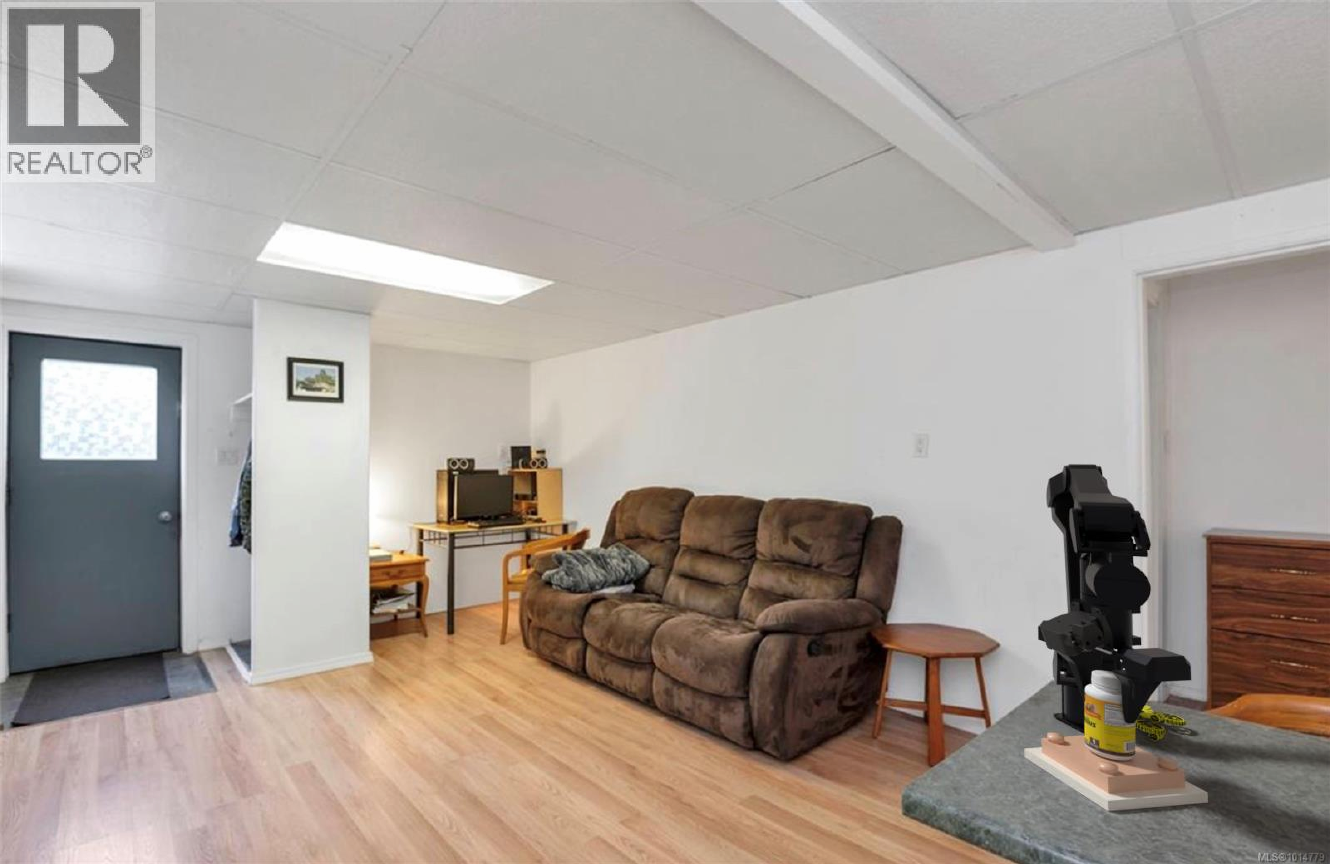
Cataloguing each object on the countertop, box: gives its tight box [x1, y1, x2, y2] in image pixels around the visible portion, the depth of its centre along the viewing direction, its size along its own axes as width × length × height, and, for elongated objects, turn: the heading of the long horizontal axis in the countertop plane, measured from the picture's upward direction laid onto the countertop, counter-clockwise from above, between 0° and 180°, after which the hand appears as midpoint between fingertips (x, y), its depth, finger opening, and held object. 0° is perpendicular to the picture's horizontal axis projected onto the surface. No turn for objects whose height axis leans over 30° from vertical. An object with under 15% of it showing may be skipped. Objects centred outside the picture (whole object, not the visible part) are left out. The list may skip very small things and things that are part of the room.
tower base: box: [1024, 731, 1209, 812], centre depth 84 cm, size 14×14×4 cm
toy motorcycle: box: [1135, 705, 1187, 742], centre depth 99 cm, size 12×4×7 cm
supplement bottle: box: [1084, 670, 1137, 761], centre depth 84 cm, size 6×6×10 cm
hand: (1108, 712), depth 84 cm, fingers open, 6 cm apart
